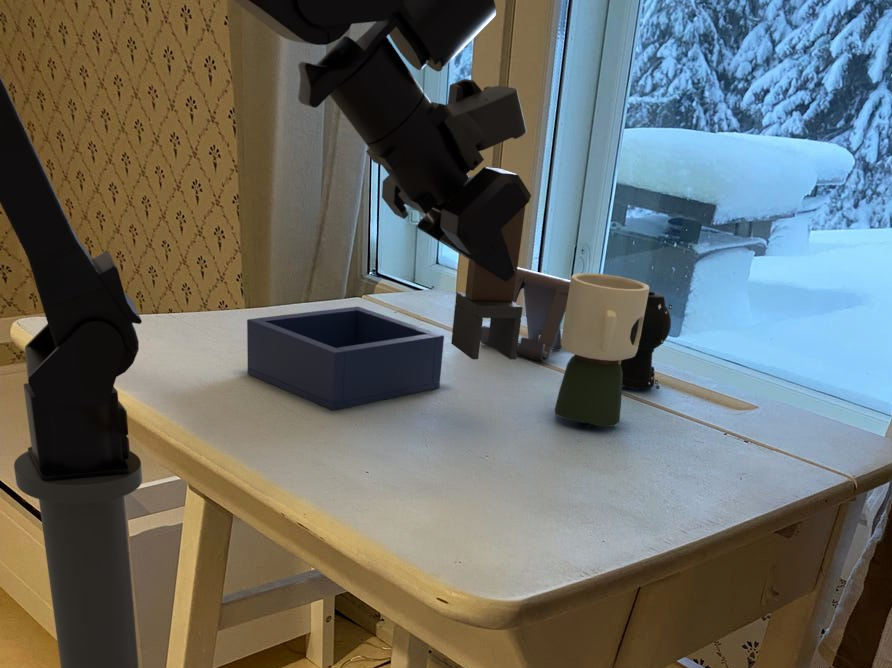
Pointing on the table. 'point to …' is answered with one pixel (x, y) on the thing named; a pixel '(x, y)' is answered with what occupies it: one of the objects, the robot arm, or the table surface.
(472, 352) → the tall backed stool
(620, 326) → the character mug
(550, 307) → the tablet stand
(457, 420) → the table surface
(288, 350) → the box
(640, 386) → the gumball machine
